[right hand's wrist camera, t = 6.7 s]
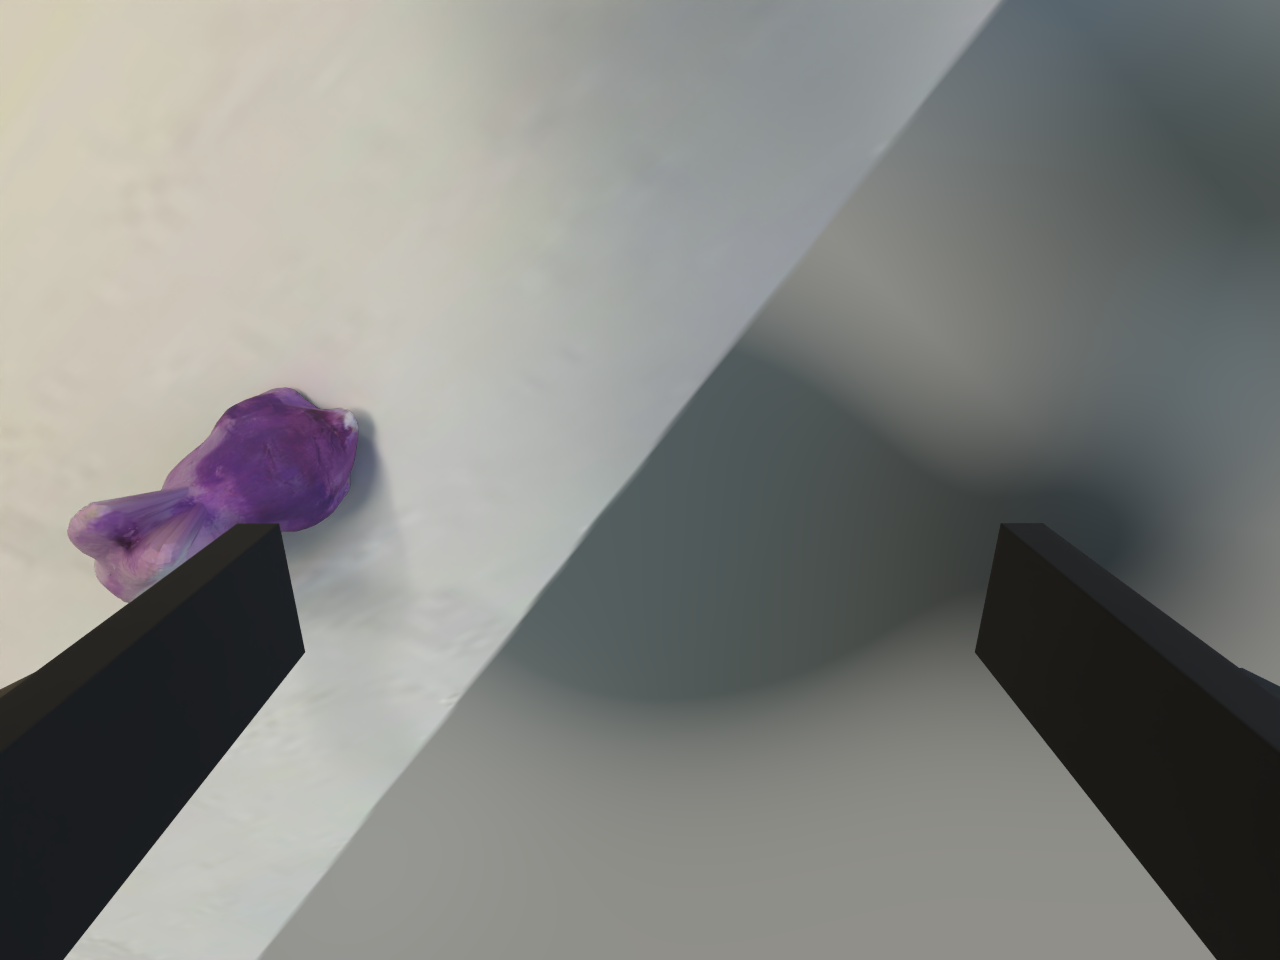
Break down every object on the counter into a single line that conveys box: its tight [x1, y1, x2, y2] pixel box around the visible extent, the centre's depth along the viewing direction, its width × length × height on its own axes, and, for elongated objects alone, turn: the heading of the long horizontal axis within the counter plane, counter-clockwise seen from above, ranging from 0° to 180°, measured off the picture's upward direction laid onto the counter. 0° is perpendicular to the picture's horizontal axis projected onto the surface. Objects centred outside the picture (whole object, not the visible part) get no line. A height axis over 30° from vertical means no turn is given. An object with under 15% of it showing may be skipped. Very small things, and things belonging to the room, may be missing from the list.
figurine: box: [67, 388, 358, 603], centre depth 36 cm, size 9×10×15 cm
